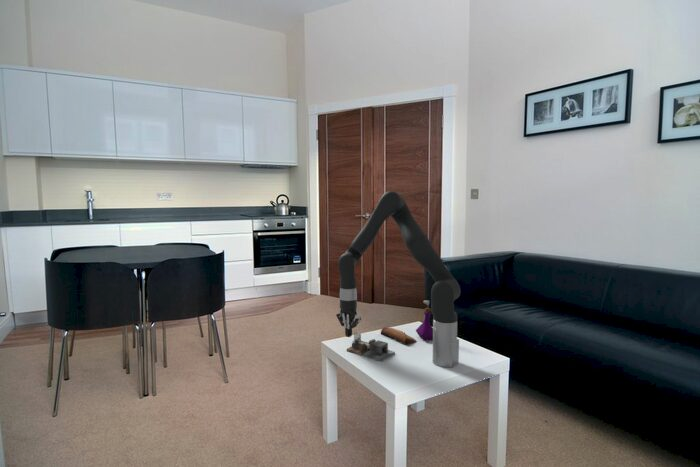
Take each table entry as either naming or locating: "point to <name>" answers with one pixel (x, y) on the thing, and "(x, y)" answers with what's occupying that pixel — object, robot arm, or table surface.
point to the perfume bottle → (425, 325)
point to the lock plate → (372, 350)
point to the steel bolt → (359, 340)
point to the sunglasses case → (398, 335)
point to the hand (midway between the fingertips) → (348, 336)
